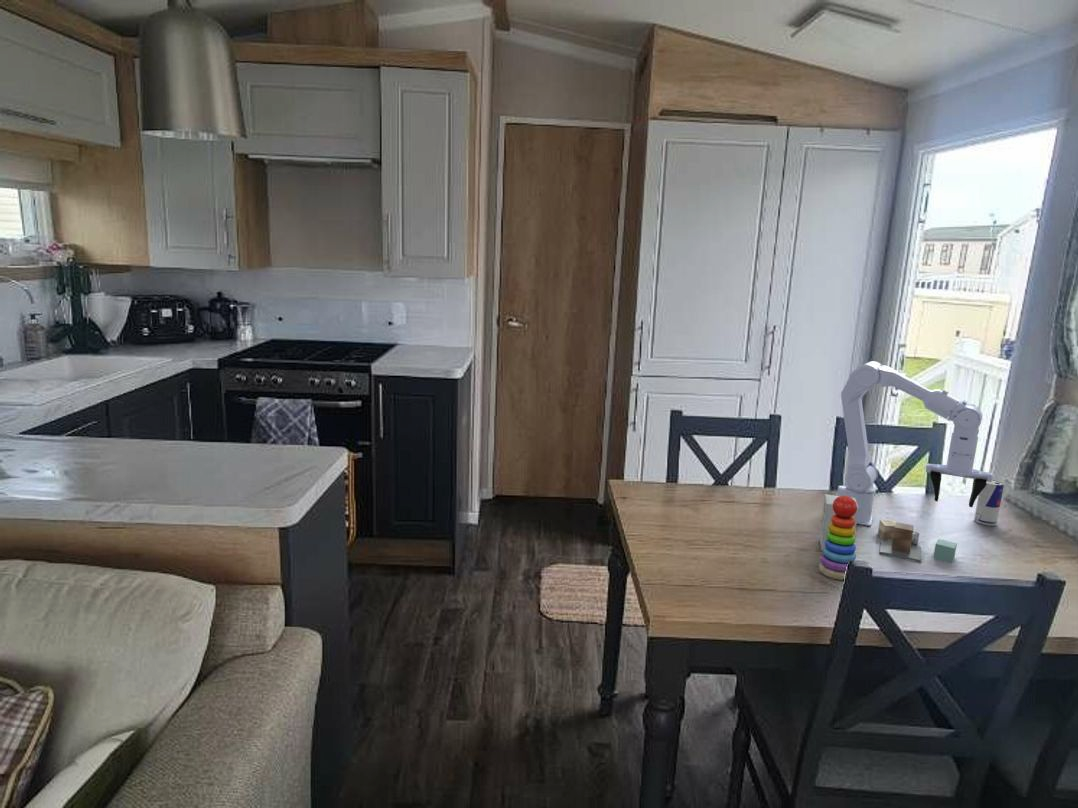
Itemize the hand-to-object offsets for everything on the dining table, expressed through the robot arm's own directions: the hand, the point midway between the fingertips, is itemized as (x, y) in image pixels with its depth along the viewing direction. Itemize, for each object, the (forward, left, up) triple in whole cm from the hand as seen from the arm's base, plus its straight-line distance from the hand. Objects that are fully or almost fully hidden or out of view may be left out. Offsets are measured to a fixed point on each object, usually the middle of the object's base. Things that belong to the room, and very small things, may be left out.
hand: (953, 503), depth 176 cm
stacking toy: (-23, -37, -11) cm, 45 cm away
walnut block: (-11, -14, -10) cm, 20 cm away
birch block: (-14, -6, -10) cm, 18 cm away
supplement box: (-25, -21, -11) cm, 34 cm away
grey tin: (-9, -8, -10) cm, 15 cm away
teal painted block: (-1, -13, -10) cm, 17 cm away
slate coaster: (-11, -15, -10) cm, 21 cm away
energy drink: (+10, +21, -11) cm, 26 cm away
